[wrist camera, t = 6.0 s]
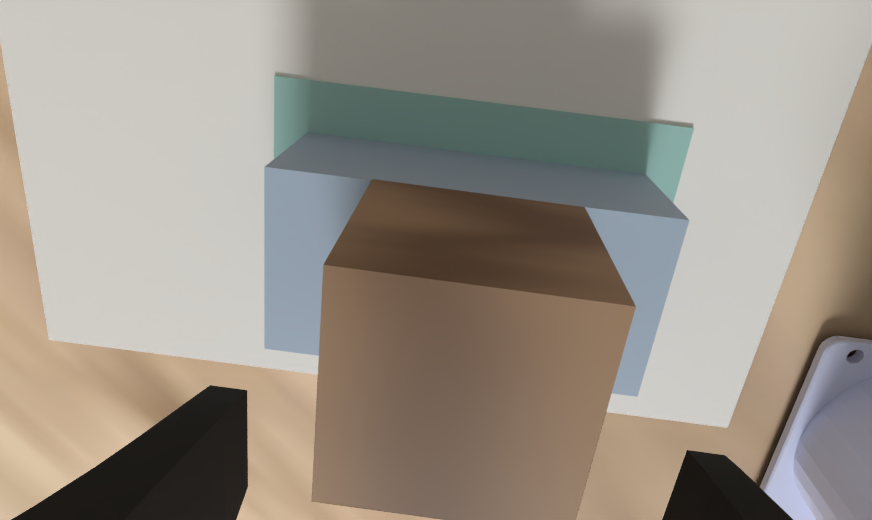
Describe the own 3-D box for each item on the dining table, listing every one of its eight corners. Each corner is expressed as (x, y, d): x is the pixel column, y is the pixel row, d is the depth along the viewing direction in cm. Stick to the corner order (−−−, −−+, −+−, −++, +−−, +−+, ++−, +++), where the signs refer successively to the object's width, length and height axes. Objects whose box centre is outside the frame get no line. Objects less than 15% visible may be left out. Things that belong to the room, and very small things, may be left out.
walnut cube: (584, 207, 14) (636, 306, 10) (544, 384, 16) (570, 536, 12) (372, 178, 14) (323, 264, 10) (357, 359, 16) (311, 501, 12)
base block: (645, 174, 18) (689, 220, 14) (607, 323, 20) (637, 396, 16) (307, 132, 18) (264, 166, 14) (303, 284, 20) (264, 348, 16)
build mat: (989, -298, 14) (1006, -309, 13) (722, 420, 22) (728, 429, 21) (-63, -421, 14) (-81, -435, 14) (56, 333, 22) (47, 341, 22)
